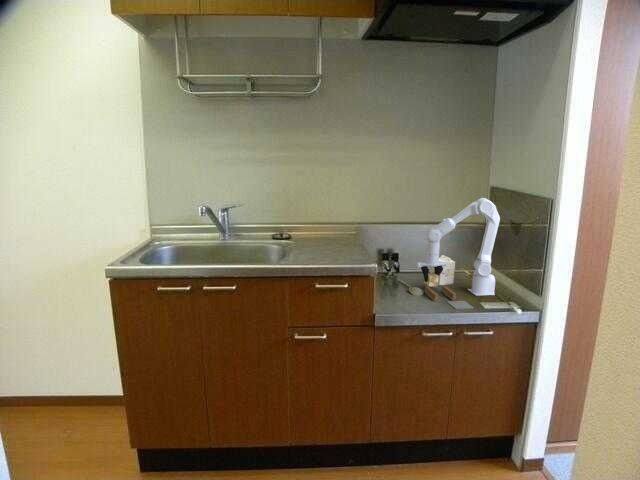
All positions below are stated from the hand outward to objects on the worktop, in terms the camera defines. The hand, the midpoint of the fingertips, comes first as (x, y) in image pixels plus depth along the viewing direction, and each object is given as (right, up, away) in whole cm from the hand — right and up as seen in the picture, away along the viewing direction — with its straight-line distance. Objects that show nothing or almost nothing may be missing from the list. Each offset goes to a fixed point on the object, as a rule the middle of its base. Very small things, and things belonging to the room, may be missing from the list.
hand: (430, 281), depth 189 cm
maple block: (0, -2, 0) cm, 2 cm away
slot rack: (+1, -6, -9) cm, 11 cm away
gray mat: (+7, -8, -20) cm, 23 cm away
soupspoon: (-10, -4, +2) cm, 11 cm away
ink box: (+9, -2, +11) cm, 14 cm away
